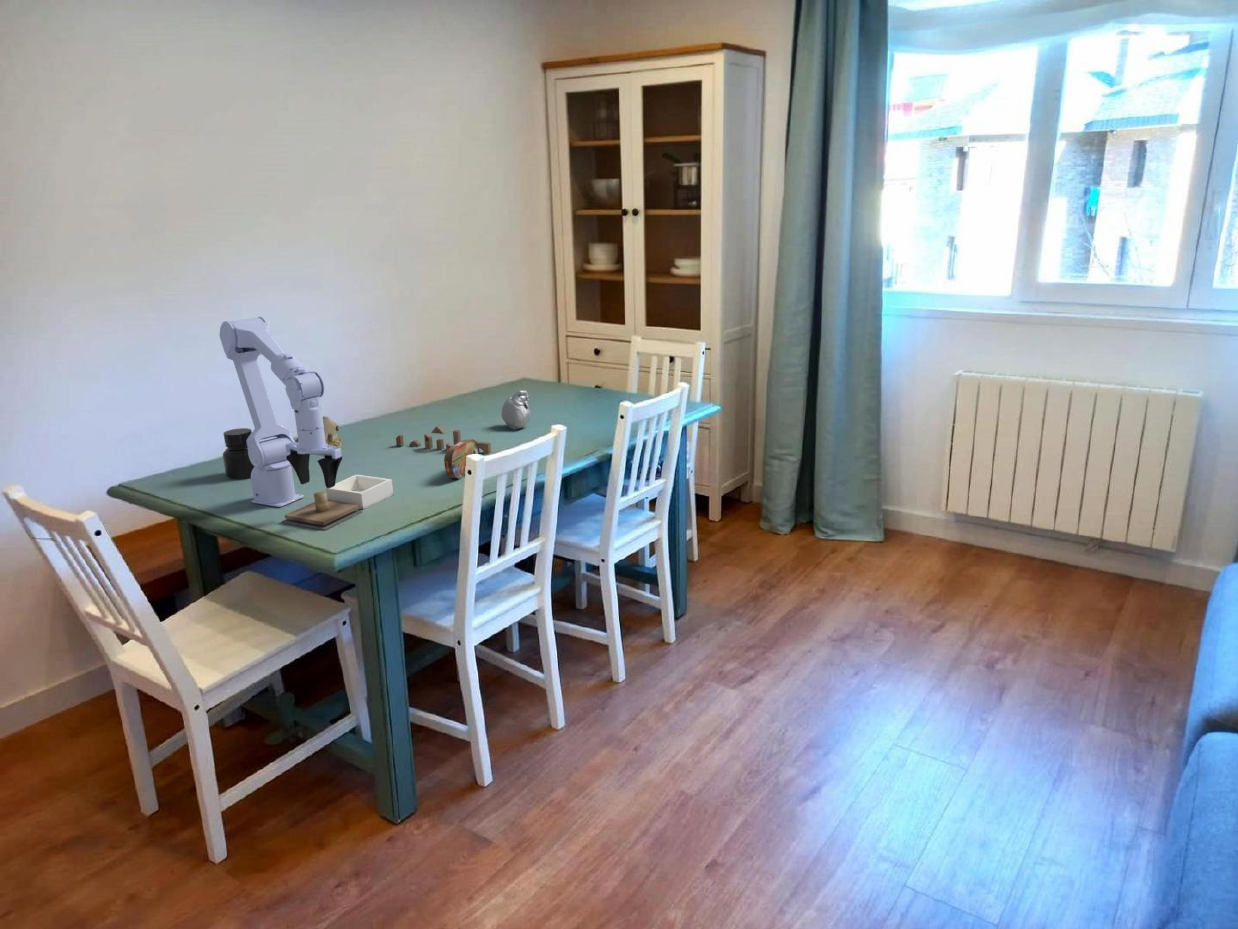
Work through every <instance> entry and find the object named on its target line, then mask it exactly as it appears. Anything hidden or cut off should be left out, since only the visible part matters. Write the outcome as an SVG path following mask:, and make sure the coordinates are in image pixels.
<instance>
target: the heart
mask: <svg viewBox="0 0 1238 929" xmlns="http://www.w3.org/2000/svg"><path fill="white" fill-rule="evenodd" d="M529 400H530V397H529V393H528V391H527V390H518V391H516V392H515V393H514V394H513V395H512V396H509V397H507V398H506V400H505V401H504V403H503V405H502V407H501V414H500V415H501V418H502V420H503V421H504V423H505V424H506V426H508V427H509V428H510V429H512V430H513V431H514V430H515V431H516V430H520V429H521V428H523V427H525V426H526V425H527V424H528V423H529V421H530V420H531V411H530V406H529V404H530V403H529Z"/></svg>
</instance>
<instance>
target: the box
mask: <svg viewBox="0 0 1238 929" xmlns="http://www.w3.org/2000/svg"><path fill="white" fill-rule="evenodd" d="M324 489H325V491H324V492H326V493H327V499H328V500H332V501H338V502H344V503H350V504H356V505H359V506H360V508H359V509H358V510H361V511H363V510H366V509H368V508H370V507H372V506H374V505H376V504H378V503H380V502H382V501H385V500H386V499H388V498H390V497H392V496H393V495H394V488H393V479H391V478H384V477H377V476H369V475H363V474H358V473H357V474H354V475H351V476H350V477H348V478H345V479H343V480H341V481H339V482H335V486H334V487H331V488H326V487H325V488H324Z"/></svg>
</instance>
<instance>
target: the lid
mask: <svg viewBox="0 0 1238 929" xmlns="http://www.w3.org/2000/svg"><path fill="white" fill-rule="evenodd" d="M313 498H314V501H313V502H311V503H308V504H306V505H305V506H302V507H300V508H298V509H296V510H292V511H291V512H289V513H287V514H284V519H291V520H297V521H302V522H308V523H313V524H319V525H326V524H328V523H330V522H332V521H334V520H336V519H338V518H341V517H343V516H345V515H347V514H349V513H351V512H353V511H355V510H360V509H359V508H360V506H359V505H356V504H350V503H344V502H338V501H332V500H328V499H327V493H326V491H317V492H314V493H313Z"/></svg>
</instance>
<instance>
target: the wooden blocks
mask: <svg viewBox="0 0 1238 929" xmlns="http://www.w3.org/2000/svg"><path fill="white" fill-rule="evenodd" d="M430 433H431V434H440V435H444V434H446V431H445V430H444V429H443V427H442V426H441V425H440V424H439V425H437V426H435V427H434V428H433V430H432V431H431V432H430ZM430 433H428V432H427V433H425V434H423V436H424V449H425V450H431V449H433V448H434V447H433V446H434V445H433V438H432V435H431V434H430ZM452 437H453V438H452V440H453V444H452V443H450V442H447V443H446V444H445V443H444V439H443V438H437V439H436V451H443V450H448V449H449V448H450V447H452V446H454V445H456V444H457V443H459V442H461V441H462V439H461V437H462V436H461V430H459V429H455V430H453V431H452ZM475 441H476V442H477V444H478V446H479V450H480V451H481V450H482V452H483V454H485V455H490V454H491V453H492V448H491V446H492V445H491V442H488V441H487V442H486V441H478V440H475ZM395 442H396V445H395V446H397V447H402V446H405V442H404V435H403V434H399V435H398V436H397V437H396V438H395ZM408 445H409V447H418V448H419V447H421V446H422V443H421V442H420V441H418V439H416V440H412V441H410V442H409V444H408ZM445 448H446V449H445ZM442 449H443V450H442Z"/></svg>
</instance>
